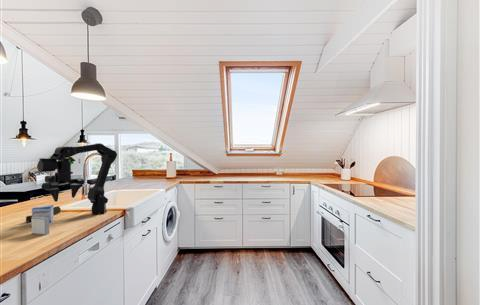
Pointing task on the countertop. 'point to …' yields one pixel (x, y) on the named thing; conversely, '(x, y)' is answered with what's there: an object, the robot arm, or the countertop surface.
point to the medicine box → (43, 212)
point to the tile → (40, 225)
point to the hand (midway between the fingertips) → (64, 199)
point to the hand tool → (55, 211)
